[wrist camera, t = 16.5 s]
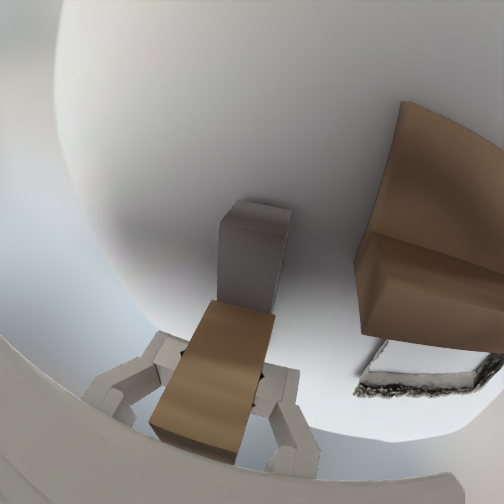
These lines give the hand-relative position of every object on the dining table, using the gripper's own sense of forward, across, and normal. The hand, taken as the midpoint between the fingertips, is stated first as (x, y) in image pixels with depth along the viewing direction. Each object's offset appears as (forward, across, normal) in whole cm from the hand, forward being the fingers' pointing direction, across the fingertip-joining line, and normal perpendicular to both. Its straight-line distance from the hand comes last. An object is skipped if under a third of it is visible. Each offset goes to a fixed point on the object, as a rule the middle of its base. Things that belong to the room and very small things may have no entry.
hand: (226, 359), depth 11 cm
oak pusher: (+5, 0, +1) cm, 5 cm away
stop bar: (+6, -13, -7) cm, 16 cm away
